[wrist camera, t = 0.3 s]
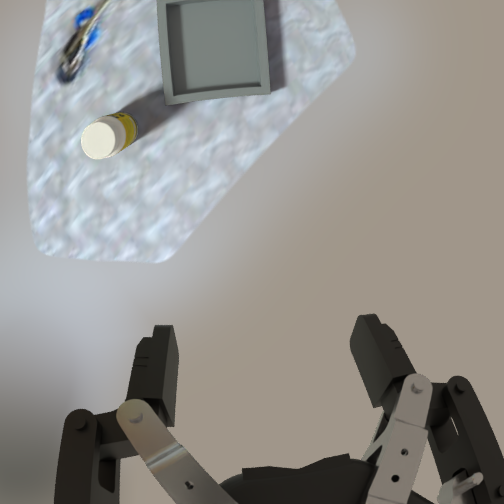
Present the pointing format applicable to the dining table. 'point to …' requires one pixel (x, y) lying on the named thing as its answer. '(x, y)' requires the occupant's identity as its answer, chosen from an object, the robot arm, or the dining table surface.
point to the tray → (212, 49)
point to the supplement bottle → (109, 135)
